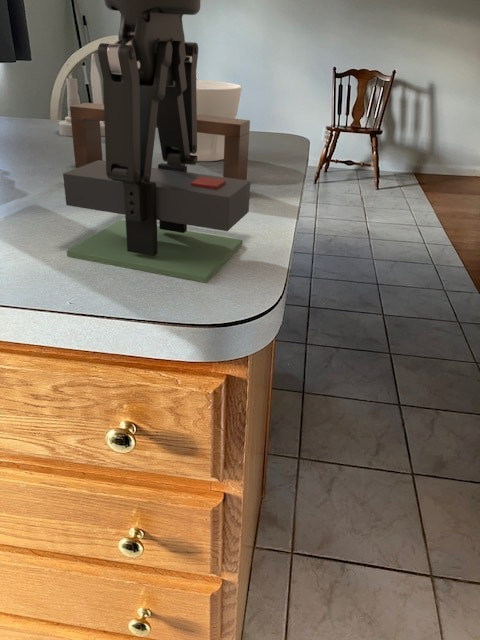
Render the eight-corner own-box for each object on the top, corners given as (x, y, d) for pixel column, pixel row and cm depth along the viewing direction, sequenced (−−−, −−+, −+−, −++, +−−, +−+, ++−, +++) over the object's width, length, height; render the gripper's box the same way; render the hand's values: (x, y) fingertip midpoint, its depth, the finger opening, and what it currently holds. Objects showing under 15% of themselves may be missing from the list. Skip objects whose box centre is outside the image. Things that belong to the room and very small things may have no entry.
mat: (66, 256, 50) (66, 250, 50) (120, 224, 59) (120, 219, 59) (206, 283, 47) (206, 276, 47) (242, 245, 55) (242, 239, 55)
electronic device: (146, 84, 95) (56, 79, 90) (146, 142, 99) (60, 140, 94) (140, 81, 99) (54, 76, 94) (140, 136, 104) (58, 135, 99)
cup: (167, 164, 84) (166, 87, 78) (161, 147, 94) (159, 78, 89) (245, 165, 86) (249, 90, 81) (231, 148, 97) (234, 81, 91)
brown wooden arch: (75, 173, 76) (69, 105, 72) (91, 167, 80) (86, 102, 75) (236, 197, 70) (240, 124, 66) (246, 189, 74) (250, 120, 69)
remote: (66, 205, 50) (62, 170, 49) (100, 189, 55) (97, 157, 54) (227, 231, 46) (229, 194, 45) (248, 212, 51) (250, 177, 50)
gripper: (136, -65, 32) (148, 285, 43) (237, -33, 48) (227, 218, 59) (30, -66, 34) (68, 269, 45) (161, -35, 50) (165, 208, 61)
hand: (158, 240), depth 52 cm, fingers closed on remote, 6 cm apart
